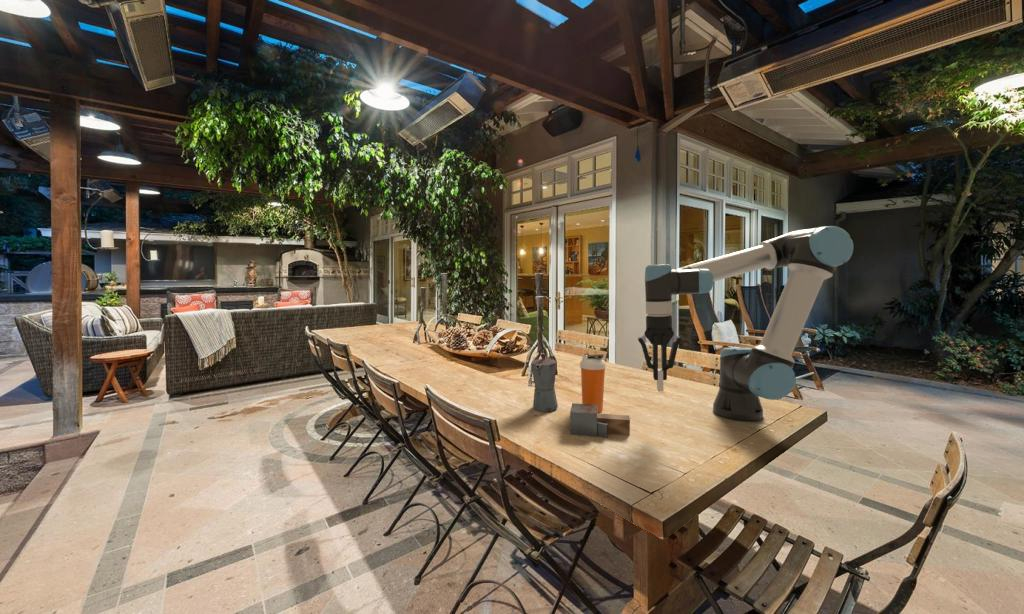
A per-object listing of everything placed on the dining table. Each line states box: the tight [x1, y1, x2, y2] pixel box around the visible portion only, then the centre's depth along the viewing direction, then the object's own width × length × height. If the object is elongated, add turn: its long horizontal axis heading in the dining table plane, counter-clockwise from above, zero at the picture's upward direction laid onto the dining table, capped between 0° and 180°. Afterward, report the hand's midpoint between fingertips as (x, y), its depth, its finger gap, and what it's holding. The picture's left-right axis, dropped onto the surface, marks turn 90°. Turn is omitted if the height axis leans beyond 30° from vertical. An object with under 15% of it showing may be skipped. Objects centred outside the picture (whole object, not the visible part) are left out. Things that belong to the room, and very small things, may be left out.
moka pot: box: [531, 354, 559, 413], centre depth 147 cm, size 10×15×20 cm, turn 158°
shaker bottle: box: [579, 353, 607, 414], centre depth 145 cm, size 9×9×20 cm
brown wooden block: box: [597, 412, 631, 436], centre depth 126 cm, size 14×4×5 cm, turn 77°
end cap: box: [569, 402, 609, 438], centre depth 126 cm, size 11×10×7 cm
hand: (660, 390), depth 126 cm, fingers closed
